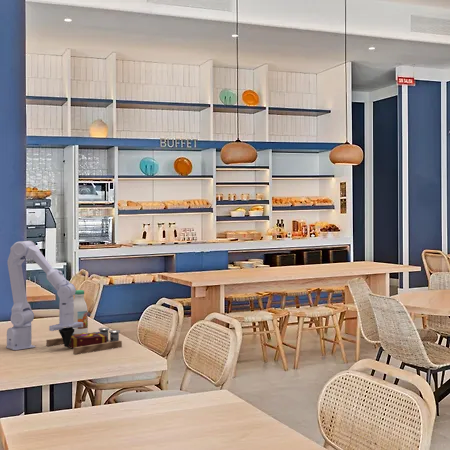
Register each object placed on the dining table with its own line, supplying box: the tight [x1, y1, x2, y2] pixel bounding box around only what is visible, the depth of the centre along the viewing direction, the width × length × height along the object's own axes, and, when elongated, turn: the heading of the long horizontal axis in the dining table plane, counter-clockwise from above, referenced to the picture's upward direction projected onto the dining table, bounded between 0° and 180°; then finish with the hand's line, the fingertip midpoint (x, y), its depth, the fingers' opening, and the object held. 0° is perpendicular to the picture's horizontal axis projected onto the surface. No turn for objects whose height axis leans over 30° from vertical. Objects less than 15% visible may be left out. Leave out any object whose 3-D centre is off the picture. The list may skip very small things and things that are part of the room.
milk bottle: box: [73, 289, 89, 334], centre depth 311 cm, size 8×8×20 cm
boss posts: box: [98, 326, 121, 342], centre depth 290 cm, size 5×13×6 cm, turn 43°
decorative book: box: [69, 331, 107, 349], centre depth 284 cm, size 11×16×5 cm
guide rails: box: [46, 337, 123, 355], centre depth 282 cm, size 22×23×2 cm
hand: (66, 346), depth 276 cm, fingers closed
